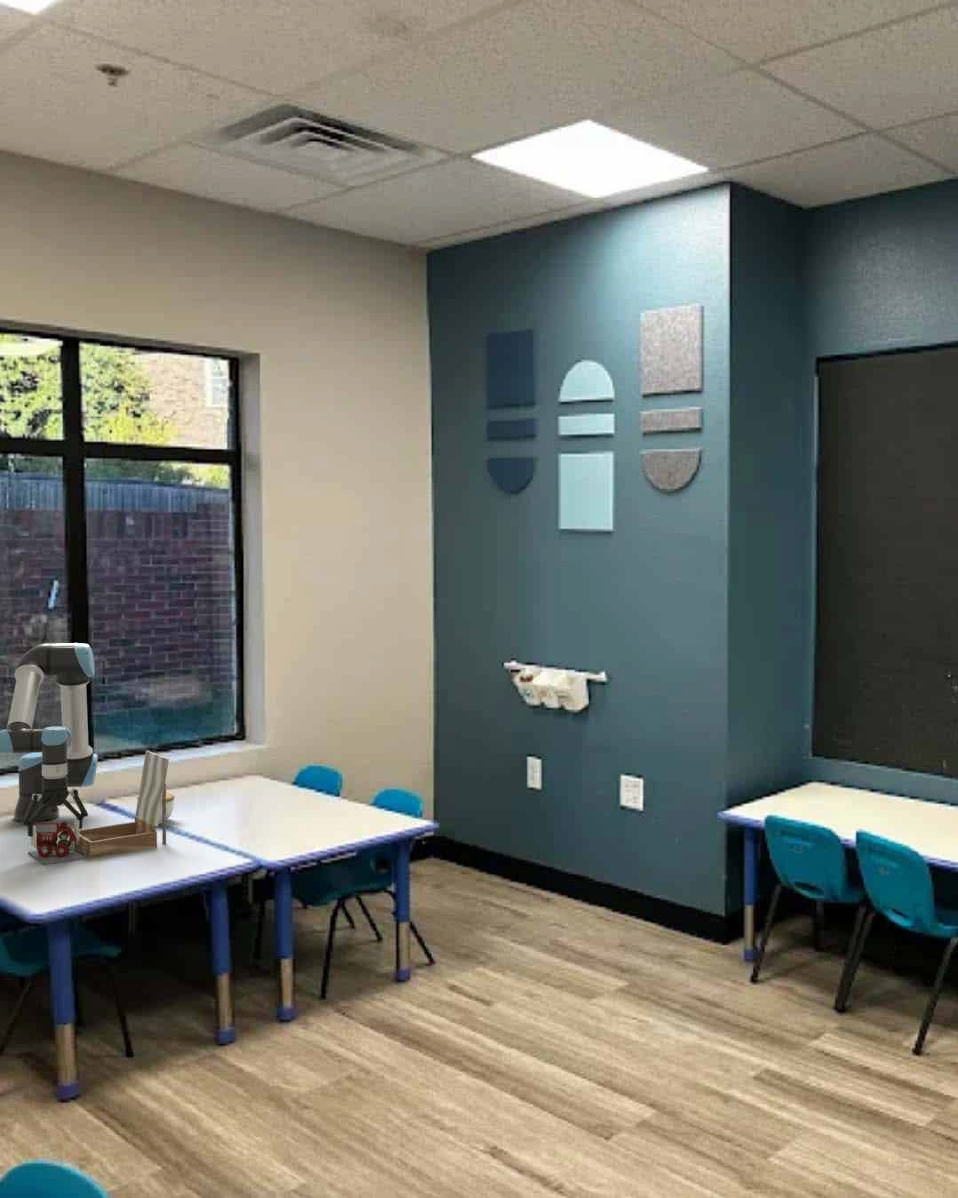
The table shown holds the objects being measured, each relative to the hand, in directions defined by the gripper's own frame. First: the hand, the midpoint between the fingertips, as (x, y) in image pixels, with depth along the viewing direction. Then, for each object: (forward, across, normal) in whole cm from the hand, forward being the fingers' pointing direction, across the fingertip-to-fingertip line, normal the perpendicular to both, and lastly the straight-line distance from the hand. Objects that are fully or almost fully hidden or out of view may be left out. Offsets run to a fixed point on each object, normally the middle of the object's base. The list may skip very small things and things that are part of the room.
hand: (55, 843), depth 365 cm
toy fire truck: (+4, 0, 0) cm, 4 cm away
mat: (+4, 0, 0) cm, 4 cm away
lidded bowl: (+4, +43, +23) cm, 49 cm away
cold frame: (+4, +21, 0) cm, 22 cm away
